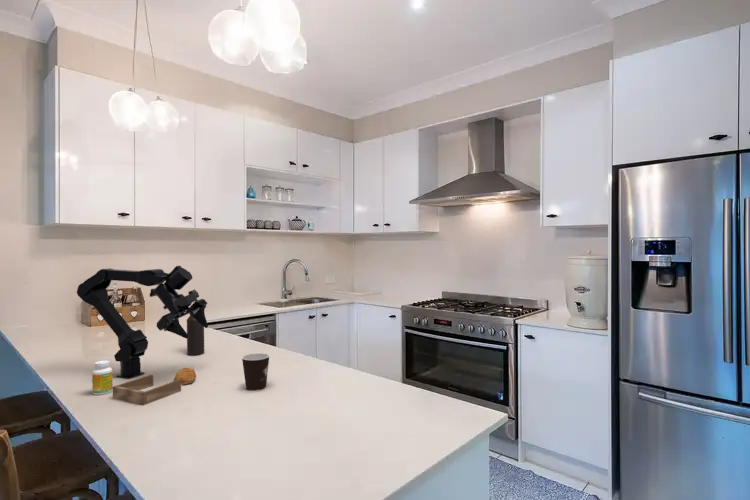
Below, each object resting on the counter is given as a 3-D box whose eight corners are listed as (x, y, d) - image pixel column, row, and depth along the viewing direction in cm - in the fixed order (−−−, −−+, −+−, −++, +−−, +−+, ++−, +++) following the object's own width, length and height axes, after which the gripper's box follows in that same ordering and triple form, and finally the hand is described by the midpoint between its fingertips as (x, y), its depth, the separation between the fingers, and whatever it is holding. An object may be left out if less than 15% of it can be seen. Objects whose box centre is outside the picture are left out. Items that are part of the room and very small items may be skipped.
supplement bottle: (102, 395, 131) (102, 364, 131) (88, 394, 132) (87, 363, 132) (116, 389, 136) (116, 360, 136) (102, 388, 137) (102, 359, 137)
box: (112, 398, 129) (112, 386, 129) (151, 384, 141) (150, 374, 141) (143, 405, 123) (143, 393, 123) (181, 390, 135) (180, 379, 135)
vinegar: (198, 351, 185) (198, 305, 184) (207, 353, 181) (206, 306, 180) (183, 354, 179) (183, 307, 179) (192, 356, 175) (192, 309, 175)
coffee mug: (255, 393, 132) (254, 361, 132) (236, 388, 136) (236, 357, 136) (281, 382, 142) (281, 353, 142) (263, 378, 146) (263, 350, 146)
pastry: (198, 383, 142) (198, 372, 142) (176, 387, 139) (176, 376, 139) (194, 376, 150) (194, 365, 150) (173, 379, 147) (173, 369, 146)
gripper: (159, 293, 136) (188, 330, 135) (201, 277, 153) (228, 310, 152) (143, 312, 141) (172, 348, 140) (186, 294, 158) (212, 327, 157)
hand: (197, 332), depth 147 cm, fingers open, 9 cm apart
